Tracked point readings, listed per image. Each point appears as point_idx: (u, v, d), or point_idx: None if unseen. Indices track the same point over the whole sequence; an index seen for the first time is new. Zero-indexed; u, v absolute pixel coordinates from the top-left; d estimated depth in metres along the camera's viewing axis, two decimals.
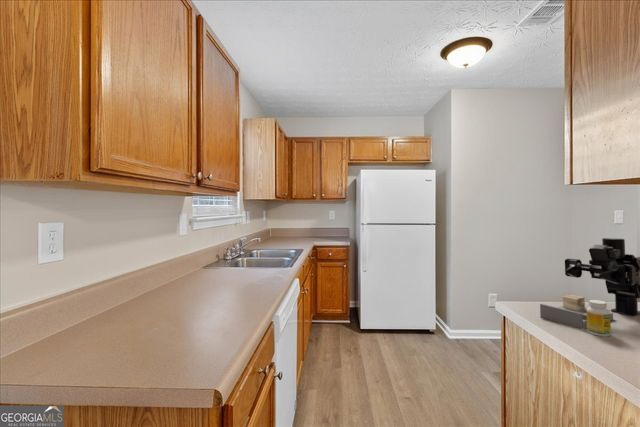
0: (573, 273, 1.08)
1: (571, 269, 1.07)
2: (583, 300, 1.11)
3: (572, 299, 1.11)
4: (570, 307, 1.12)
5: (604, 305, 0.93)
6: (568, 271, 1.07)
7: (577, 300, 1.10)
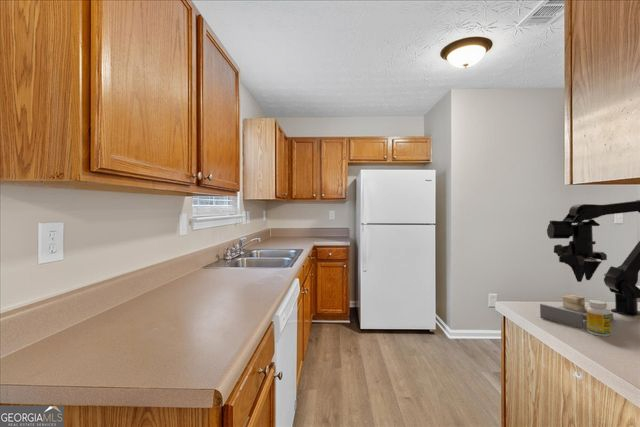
0: (591, 270, 1.15)
1: (586, 273, 1.17)
2: (583, 300, 1.11)
3: (572, 299, 1.11)
4: (570, 307, 1.12)
5: (604, 305, 0.93)
6: (587, 278, 1.16)
7: (577, 300, 1.10)
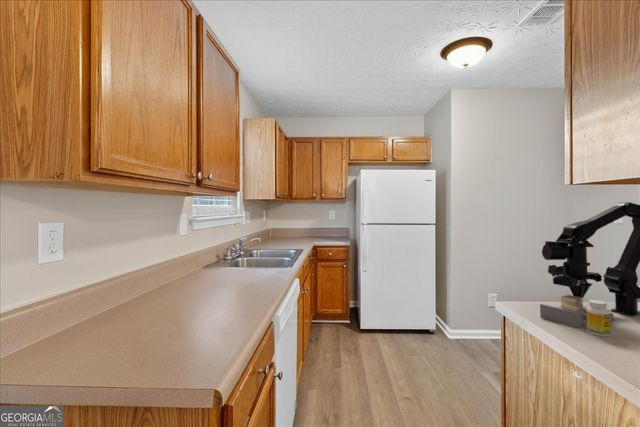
0: None
1: None
2: (581, 300, 1.11)
3: (570, 299, 1.11)
4: (568, 307, 1.11)
5: (604, 305, 0.93)
6: None
7: (575, 300, 1.10)
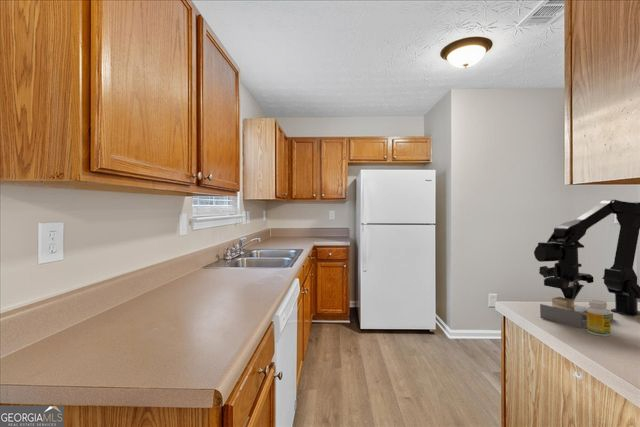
0: None
1: None
2: (572, 302, 1.09)
3: (561, 301, 1.09)
4: None
5: (604, 305, 0.93)
6: None
7: (566, 302, 1.08)
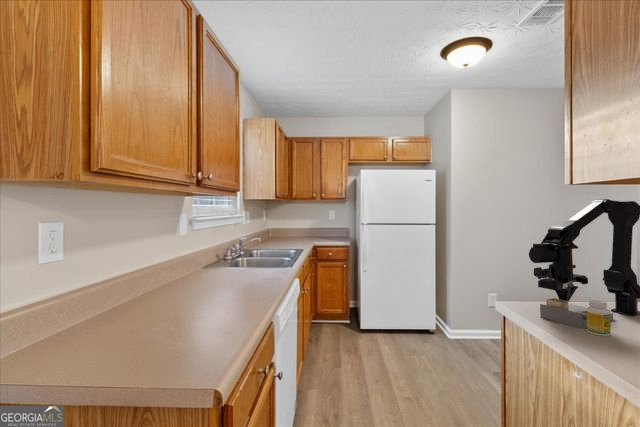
0: None
1: None
2: (566, 304, 1.08)
3: (555, 303, 1.07)
4: None
5: (604, 305, 0.93)
6: None
7: (560, 304, 1.06)
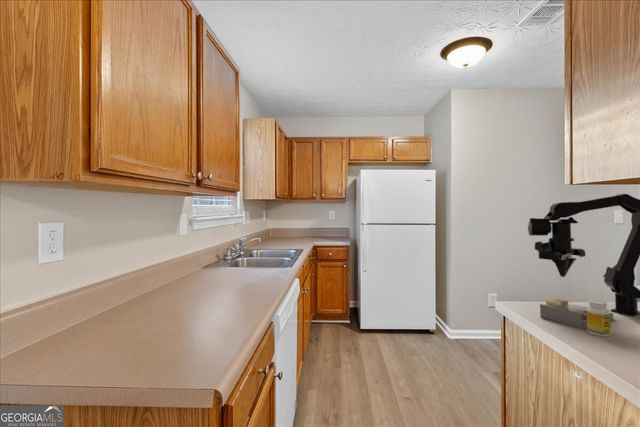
0: None
1: None
2: (566, 304, 1.08)
3: (555, 303, 1.07)
4: None
5: (604, 305, 0.93)
6: None
7: (560, 304, 1.06)
